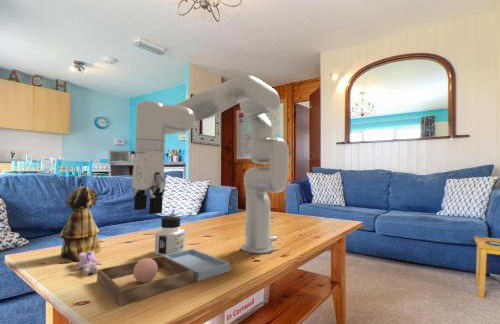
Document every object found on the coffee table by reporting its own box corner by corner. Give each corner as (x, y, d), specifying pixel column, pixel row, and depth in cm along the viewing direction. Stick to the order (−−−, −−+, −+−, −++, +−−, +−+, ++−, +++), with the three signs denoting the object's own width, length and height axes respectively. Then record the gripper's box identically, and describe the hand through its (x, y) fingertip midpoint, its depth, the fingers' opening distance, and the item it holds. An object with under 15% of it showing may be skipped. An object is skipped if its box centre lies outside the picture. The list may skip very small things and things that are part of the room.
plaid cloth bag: (35, 258, 83) (59, 181, 85) (63, 247, 96) (83, 181, 98) (80, 268, 83) (102, 191, 85) (101, 256, 97) (120, 190, 99)
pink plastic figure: (103, 278, 74) (96, 256, 86) (105, 258, 74) (97, 238, 85) (77, 284, 70) (73, 260, 82) (78, 263, 70) (74, 241, 82)
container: (174, 256, 90) (175, 218, 91) (154, 255, 92) (155, 217, 92) (184, 250, 98) (185, 215, 98) (165, 248, 99) (166, 214, 100)
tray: (192, 255, 92) (193, 248, 92) (230, 270, 78) (230, 263, 78) (162, 262, 84) (163, 255, 84) (198, 281, 70) (198, 272, 70)
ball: (151, 275, 73) (152, 253, 74) (161, 282, 69) (162, 259, 69) (129, 281, 69) (130, 258, 69) (138, 288, 65) (139, 264, 65)
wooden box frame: (162, 265, 82) (163, 255, 82) (193, 282, 69) (193, 270, 70) (96, 281, 69) (97, 269, 69) (120, 305, 57) (120, 291, 57)
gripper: (124, 148, 74) (121, 209, 74) (150, 144, 62) (147, 217, 61) (149, 150, 80) (147, 207, 79) (178, 147, 67) (176, 214, 67)
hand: (147, 211), depth 70 cm, fingers open, 9 cm apart
